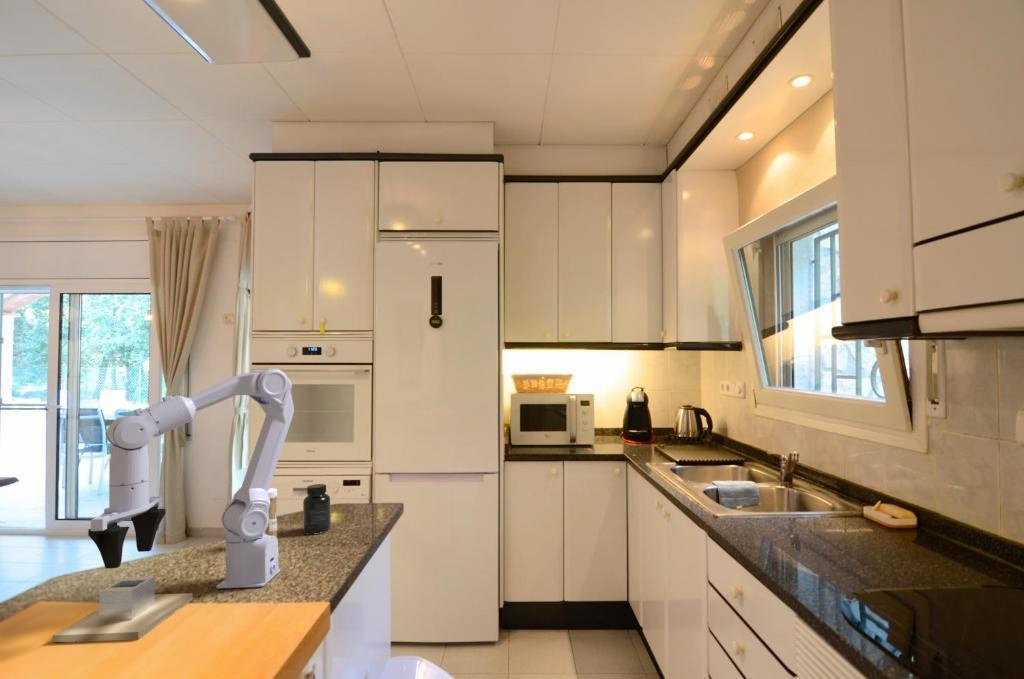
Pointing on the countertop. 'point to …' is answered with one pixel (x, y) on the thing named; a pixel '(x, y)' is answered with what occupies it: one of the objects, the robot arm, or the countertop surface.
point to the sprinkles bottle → (272, 513)
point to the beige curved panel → (123, 622)
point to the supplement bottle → (316, 509)
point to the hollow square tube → (126, 598)
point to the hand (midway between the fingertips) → (129, 558)
